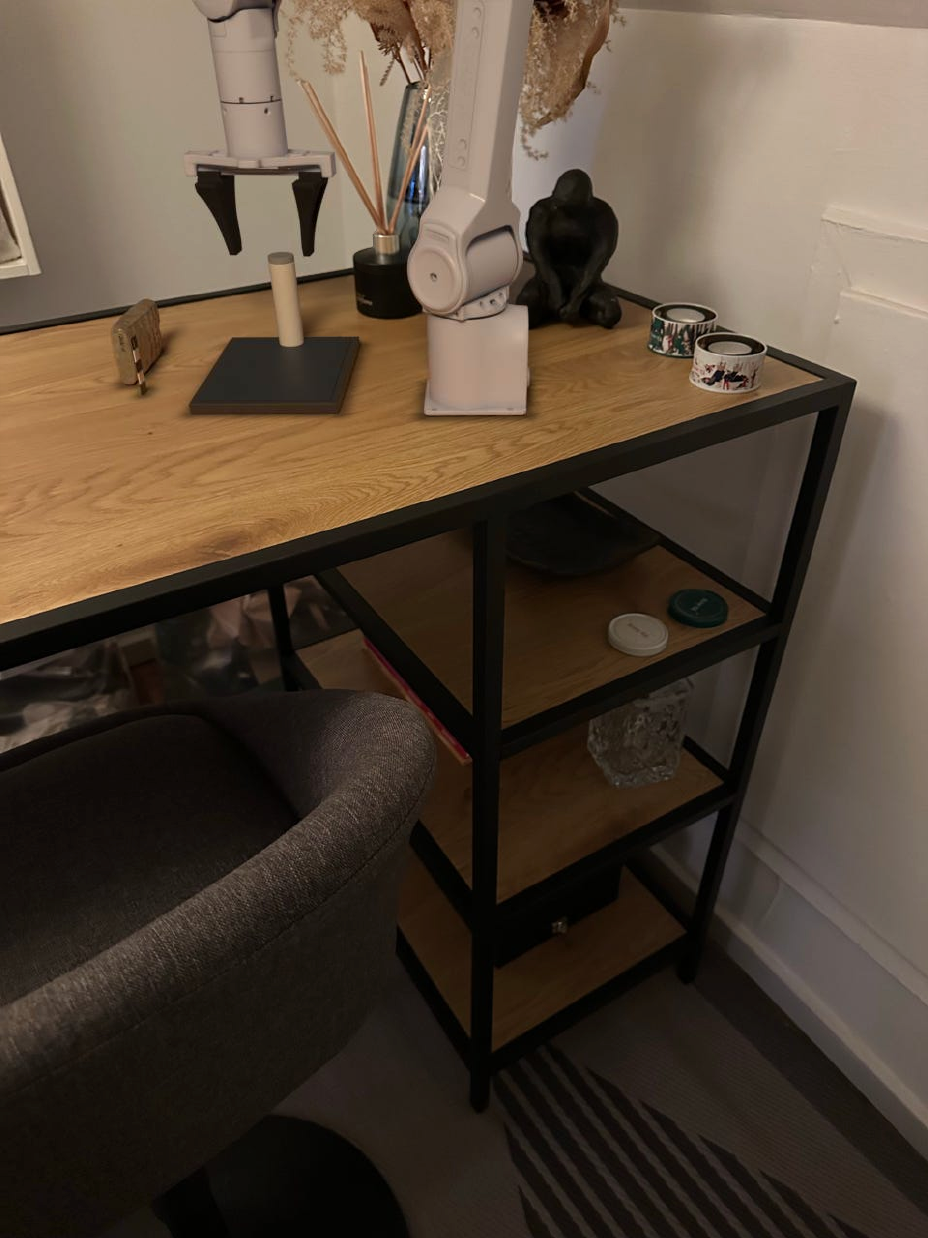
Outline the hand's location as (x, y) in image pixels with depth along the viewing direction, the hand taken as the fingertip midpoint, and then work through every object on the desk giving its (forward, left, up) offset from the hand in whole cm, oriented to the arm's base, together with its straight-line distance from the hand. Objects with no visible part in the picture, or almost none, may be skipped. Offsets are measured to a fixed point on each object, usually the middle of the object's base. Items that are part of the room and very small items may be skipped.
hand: (272, 253), depth 89 cm
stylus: (-1, +1, -9) cm, 9 cm away
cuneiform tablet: (+13, +7, -10) cm, 18 cm away
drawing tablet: (-1, +8, -10) cm, 13 cm away
